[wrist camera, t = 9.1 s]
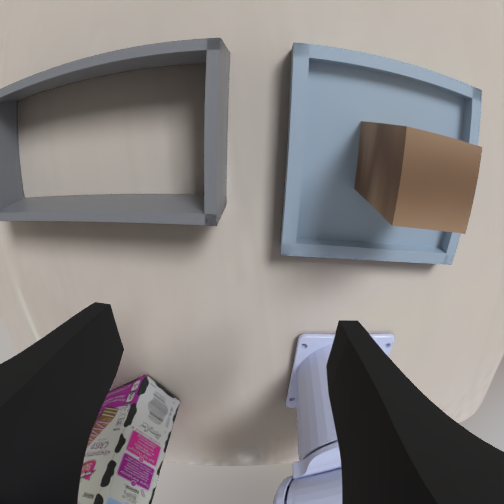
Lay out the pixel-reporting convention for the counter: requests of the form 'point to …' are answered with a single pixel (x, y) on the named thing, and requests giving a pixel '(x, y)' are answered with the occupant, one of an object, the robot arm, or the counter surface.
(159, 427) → the candy bar box
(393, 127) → the walnut block
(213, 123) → the gray rectangular bin
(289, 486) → the robot arm
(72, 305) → the counter surface
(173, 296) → the counter surface
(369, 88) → the light blue tray
